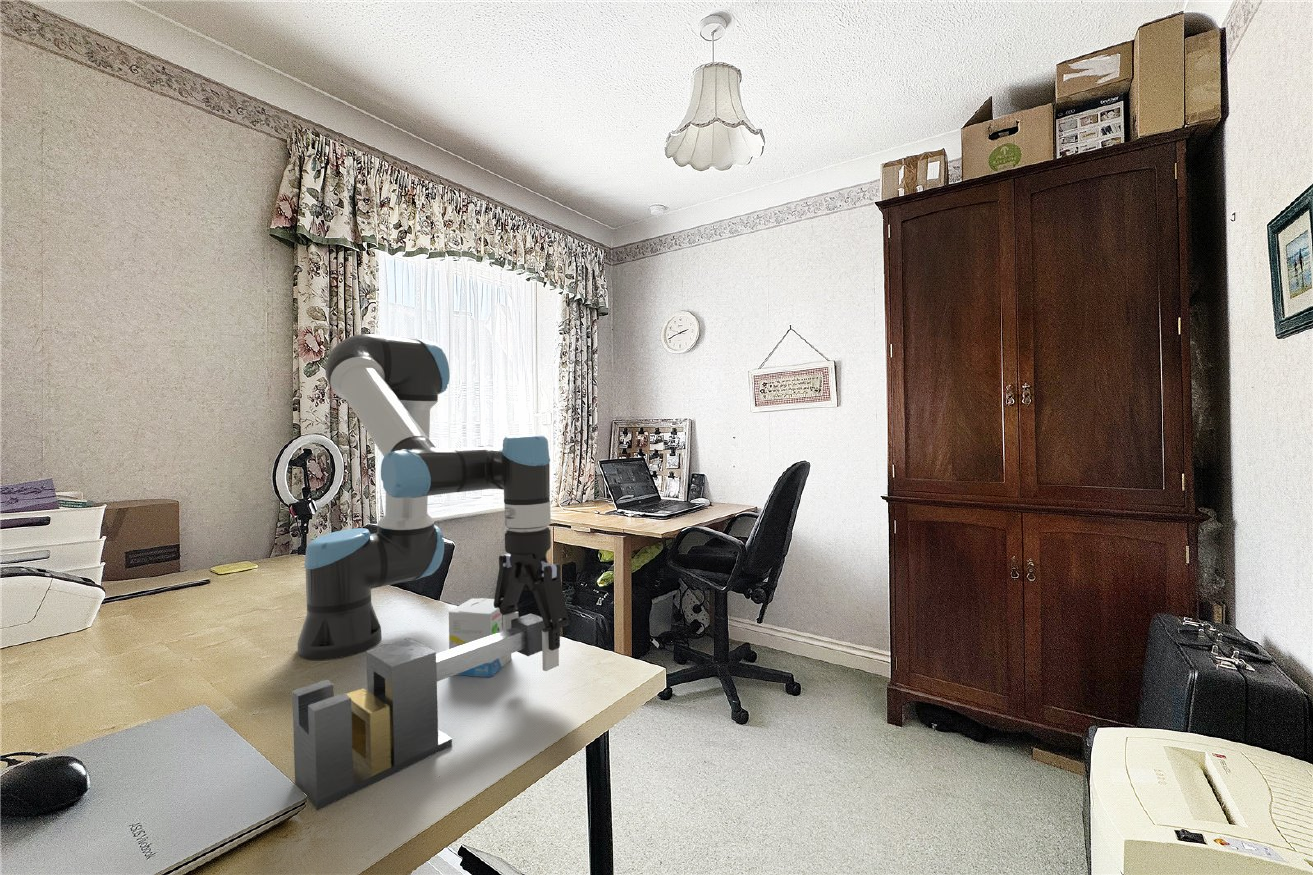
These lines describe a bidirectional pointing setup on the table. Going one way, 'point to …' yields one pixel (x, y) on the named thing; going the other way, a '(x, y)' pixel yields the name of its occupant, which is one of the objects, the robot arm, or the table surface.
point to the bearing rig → (326, 723)
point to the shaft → (493, 647)
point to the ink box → (476, 631)
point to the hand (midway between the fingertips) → (530, 659)
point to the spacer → (370, 732)
